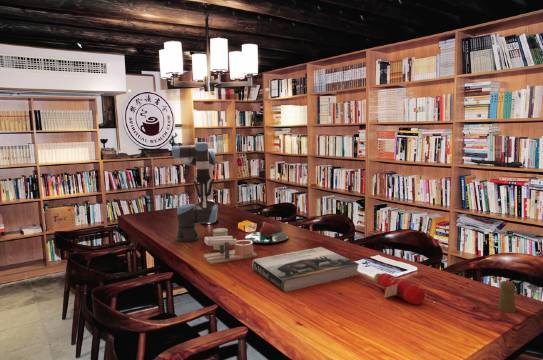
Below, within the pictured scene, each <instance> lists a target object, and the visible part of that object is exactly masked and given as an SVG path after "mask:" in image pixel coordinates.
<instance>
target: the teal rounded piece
mask: <svg viewBox="0 0 543 360" xmlns="http://www.w3.org/2000/svg"><path fill="white" fill-rule="evenodd" d="M283 231H284V229H283V228H282V227H281V225H277V224H272V223H269V222H265V221H263V222H262V226H261V227H260V231H258V232H252V233H249V234H248V235H246V236H245V237H244V238H245V240H249V241H252V242H253V243H261V244H269V243H278V242H281V241H285V240H287V239H288V238H289V236H288V234H286V233H283Z"/></svg>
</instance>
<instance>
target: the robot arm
mask: <svg viewBox="0 0 543 360" xmlns="http://www.w3.org/2000/svg"><path fill="white" fill-rule="evenodd" d="M171 155H172V156H171V157H172V158H173V159H178V160H179V161H180V163H182V164H183V165H186V166H190V167H195V168H196V170H195V171H196V177H195V179H194V180H192V183H193V185H194V188H195V191H196V195H197V196H198V197H199V198H200V200H199V202H198V204H197V205H195V204H194V203H187V204H186V203H185V204H183V205H180V206H178V207H177V209H176V210H177V211H176V215H177V232H176V236H175V241H176V242H178V243H179V242H180V243H189V242H190V243H191V242H195V241H197V240H199V238H200V235H199V232H198V230H197V227H196V224H211V223H212V224H213V223H215V222H216V221H217V219H218V210H219V209H218V205H217V204H216V202H215V200H214V193H213V192H214V191H213V190H214V189H213V187H214V186H213V183H214V182H215V179H214V178H213V169H215V166H217V161H216V154H215V151H214V149H212V148H211V149H209V143H208V142H206V141H203V142H202V141H201V142H199V141H198V142H195V145H193V144H191V145H173V146H172V147H171ZM198 183H199V186H198Z"/></svg>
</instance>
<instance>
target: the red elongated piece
mask: <svg viewBox="0 0 543 360" xmlns="http://www.w3.org/2000/svg"><path fill="white" fill-rule="evenodd" d="M373 282H374V283H375V284H376V285H375V286H376V287H379V289H381V290H382V291H384V297H383V298H386V299H390V298H393V297H399V298H401V300H403V301H406V302H407V303H409V304H411V305H421V304H422V303H423V302H424V300H425V297H426V293H425V291H424V289H423V288H422V287H420V286H419V285H417V284H414V283H412V282H409V281H405V280H403V279H401V278H399V277H397V276H395V275H393V274H390V273H386V272H385V273H376V274H375V275H374V277H373Z"/></svg>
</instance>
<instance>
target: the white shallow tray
mask: <svg viewBox="0 0 543 360" xmlns="http://www.w3.org/2000/svg"><path fill="white" fill-rule="evenodd" d="M233 237H234V236H232V235H228V236H217V237H213V236H204V237H203V239H204V241H203V242H204V244H206V246H208V247H209V246H211V247H212V246H213V247H214V245H225V243H226V242H229V246H231V245H235V244H236V243H237V241H238V240H237V238H233Z"/></svg>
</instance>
